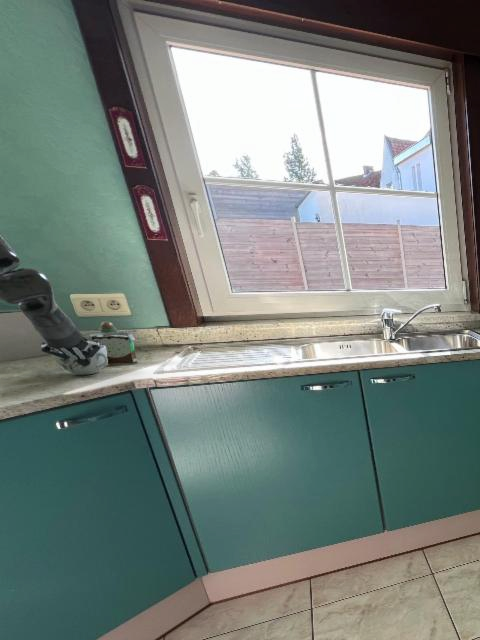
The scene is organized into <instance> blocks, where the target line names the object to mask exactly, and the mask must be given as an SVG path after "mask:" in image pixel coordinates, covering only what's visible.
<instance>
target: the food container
mask: <svg viewBox="0 0 480 640" xmlns="http://www.w3.org/2000/svg"><path fill="white" fill-rule="evenodd" d="M96 340H98V341H100V345H104V346H106V350H107V359H108V363H107V365H136V364H138V360H137V354H136V350H135V345H134V341H135V340H136V338H135V337H134V335H133V334H132V333H131V332H126V331H118V332H111V333H100V332H97V333H91V334H89V337H88V341H92V342H94V341H96Z"/></svg>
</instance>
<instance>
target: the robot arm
mask: <svg viewBox="0 0 480 640" xmlns="http://www.w3.org/2000/svg"><path fill="white" fill-rule="evenodd" d="M20 265H21V258H20V257H19V256H18V254H17V253H16V252H15V250H13V248H12V247H11V245H10V244H9V243H8V242H7V241H6V239H5V238H4V237H3V236H2V235H1V234H0V301H1V302H3V303H6V304H9V305H16V304H18V305H17V306H18V309H19V311H20V312H21V313H22V314H23V316H24V317H25V318H26V319H27V320H28V321H29V322H30V323H31V325H32V327H33V328H34V330H35V331H36V332H37V333H38V334H39V336H40V337H42V339H43V340H44V341H45V342H41V344H40V345H41V346H40V348H41V352H43V353H46V354H49V355H51V354H52V355H55V356H58V357H61V358H64V359H68V358H72V359H74V360H75V361H76V362H77V363H78V364H81V365H82V366H89V364H91V359H90V358H91V357H93V356H94V355H95V354H96V353H97V352H98V351H99V350H100V341H98V340H96V341H94V342H92V341H90V340H89V338H87V337H85V336H84V335H83V334H82V332H81V331H80V330H79V329H78V327H77V326H76V325H75V323H74V322H73V321H72V319H71V318H70V317H69V316H68V315H67V314H66V313H65V312H64V311H63V310H62V308H61V307H60V306H59V305H58V304H57V302H56V299H55V296H54V295H55V294H54V290H53V289H54V288H53V286H52V283H51V281H50V279H49V278H48V277H47V276H46V275H45V274H44V273H43V272H42V271H40V270H38V269H36V268H33V267H22V268H19V266H20ZM87 345H89V347H88V349H87V350H86V351H85V350H84V349H85V348H86V347H87ZM59 352H62V353H63V354H61V353H59ZM89 357H90V358H89Z"/></svg>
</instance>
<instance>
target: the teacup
mask: <svg viewBox="0 0 480 640" xmlns="http://www.w3.org/2000/svg"><path fill="white" fill-rule="evenodd" d="M88 347H89V345H87V347H86V348H85V349H84V350H85V351H86V350H87V349H88ZM59 353H61V354H63V353H62V352H59ZM50 356H51V358H52V359H53V360H54V361H55V362H56V364H58V365H59V366H60V367H61V368H62V369H64V370H66V371H68V372H70V373H71V374H73V375H75V376H87V375H93V374H97V373H100V371H101V370H102V369H103V368H104V367H106V366H107V365H108V364H107V363H108V359H107V350H106V346H104V345H100V350H99V351H98V352H97V353H96V354H95V355H94V356H93V357H91V358H90V357H89V358H90V359H91V364H89V366H82V365H81V364H78V363H77V362H76V361H75V360H74V359H72V358H68V359H64V358H61V357H58V356H55V355H52V354H50Z"/></svg>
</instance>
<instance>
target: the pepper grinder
mask: <svg viewBox="0 0 480 640" xmlns="http://www.w3.org/2000/svg"><path fill="white" fill-rule="evenodd" d="M98 329H99V333H111V332H119V329H118V327H117V326H116V327H115V325H114V323H113V322H111V321H107V320H105V321H102V322H101V323H100V328H98Z"/></svg>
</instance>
